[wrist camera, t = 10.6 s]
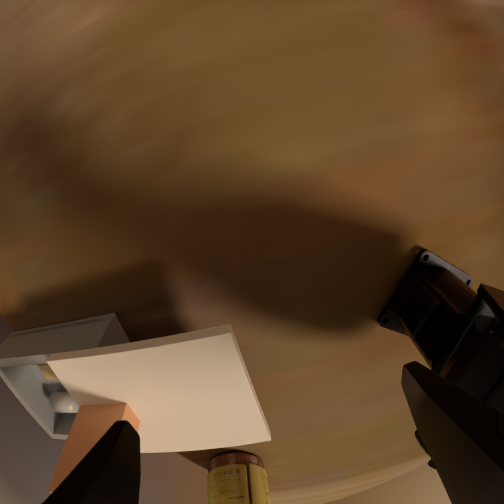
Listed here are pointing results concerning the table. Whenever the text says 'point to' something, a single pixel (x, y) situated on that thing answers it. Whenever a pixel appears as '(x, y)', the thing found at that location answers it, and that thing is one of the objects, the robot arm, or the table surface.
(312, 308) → the table surface
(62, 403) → the parts tub
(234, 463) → the sauce bottle
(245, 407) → the lid
